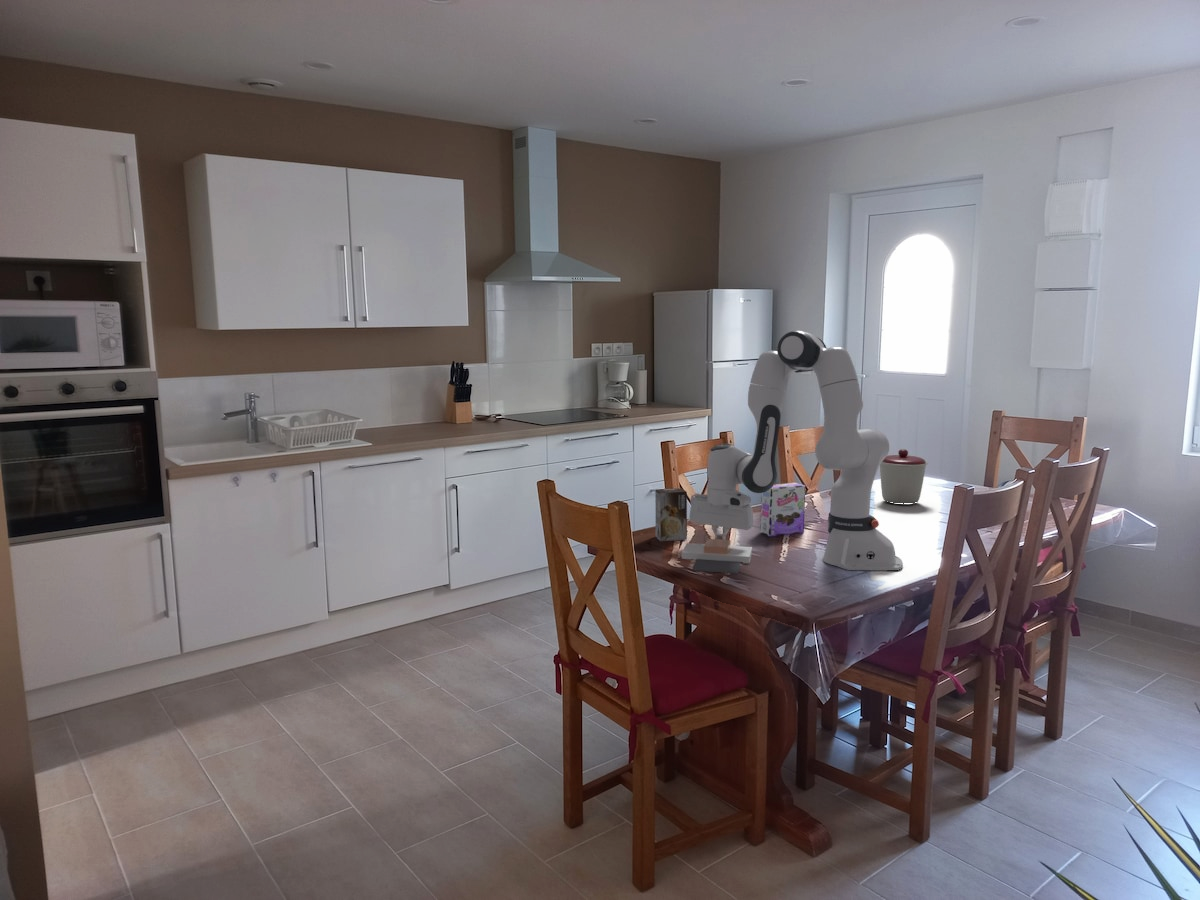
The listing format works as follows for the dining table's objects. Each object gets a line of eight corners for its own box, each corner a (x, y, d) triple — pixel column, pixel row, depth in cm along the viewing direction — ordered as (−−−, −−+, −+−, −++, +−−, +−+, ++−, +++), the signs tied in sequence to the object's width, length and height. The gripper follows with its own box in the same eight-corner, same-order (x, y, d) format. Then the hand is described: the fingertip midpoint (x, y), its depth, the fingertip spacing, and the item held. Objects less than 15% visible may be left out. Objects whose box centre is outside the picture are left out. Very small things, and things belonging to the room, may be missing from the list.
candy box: (769, 537, 281) (770, 487, 278) (759, 532, 286) (760, 484, 284) (804, 533, 286) (806, 484, 284) (794, 529, 291) (796, 481, 289)
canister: (866, 499, 338) (869, 446, 335) (905, 496, 344) (908, 444, 340) (895, 509, 321) (898, 453, 318) (935, 506, 327) (938, 451, 323)
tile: (730, 546, 262) (730, 540, 261) (727, 554, 253) (727, 547, 253) (707, 545, 263) (707, 538, 263) (703, 552, 255) (704, 546, 254)
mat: (740, 563, 251) (740, 562, 251) (737, 574, 240) (737, 572, 240) (696, 560, 254) (696, 559, 254) (691, 570, 243) (691, 569, 243)
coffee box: (681, 535, 283) (682, 487, 281) (687, 540, 277) (688, 491, 274) (654, 536, 281) (655, 488, 279) (659, 541, 275) (660, 492, 273)
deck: (751, 553, 261) (752, 547, 261) (749, 563, 251) (749, 556, 250) (686, 549, 266) (687, 543, 266) (681, 558, 255) (681, 552, 255)
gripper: (686, 494, 266) (685, 537, 269) (748, 501, 256) (747, 546, 258) (695, 491, 272) (694, 533, 274) (755, 498, 261) (754, 542, 263)
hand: (720, 540), depth 266 cm, fingers closed
